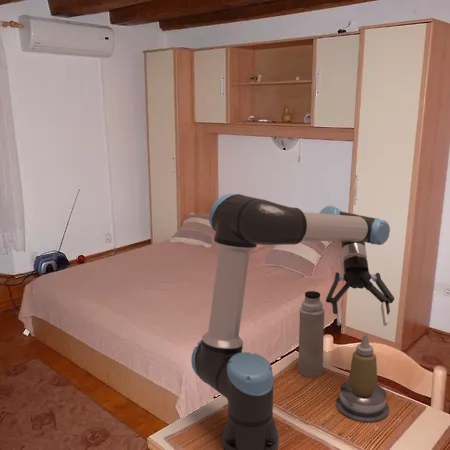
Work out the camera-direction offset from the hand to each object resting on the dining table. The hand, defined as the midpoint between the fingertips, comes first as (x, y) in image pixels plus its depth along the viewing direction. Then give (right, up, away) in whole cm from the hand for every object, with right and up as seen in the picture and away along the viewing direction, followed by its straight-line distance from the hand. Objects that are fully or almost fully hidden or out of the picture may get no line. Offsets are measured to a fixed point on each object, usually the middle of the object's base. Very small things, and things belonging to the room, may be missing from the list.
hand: (362, 324), depth 146 cm
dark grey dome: (0, -24, 0) cm, 24 cm away
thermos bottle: (-12, -20, +20) cm, 31 cm away
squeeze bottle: (0, -20, -1) cm, 20 cm away
